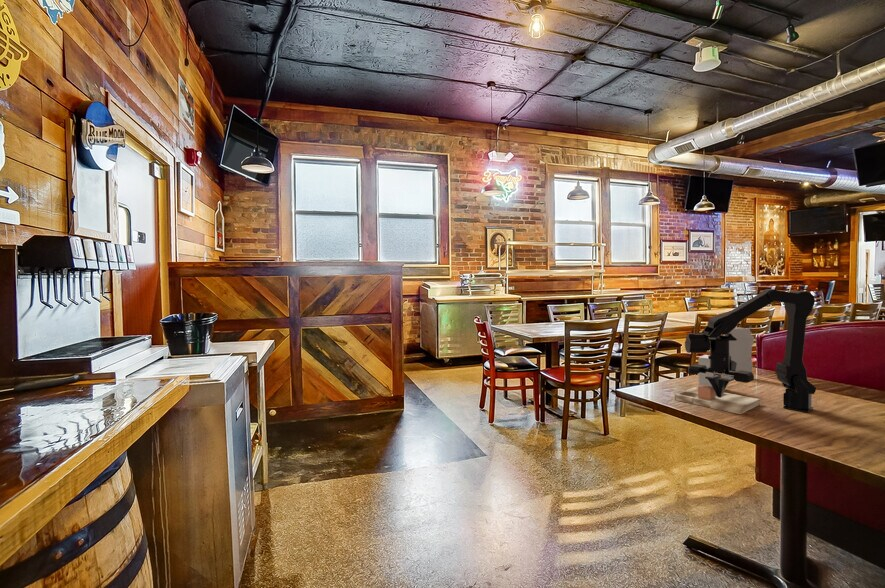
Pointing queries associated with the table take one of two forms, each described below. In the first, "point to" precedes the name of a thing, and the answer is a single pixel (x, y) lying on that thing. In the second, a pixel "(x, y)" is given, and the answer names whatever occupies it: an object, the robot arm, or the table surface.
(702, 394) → the block
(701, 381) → the small box
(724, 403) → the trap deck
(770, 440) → the table surface
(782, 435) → the table surface
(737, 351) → the grey upright slab
